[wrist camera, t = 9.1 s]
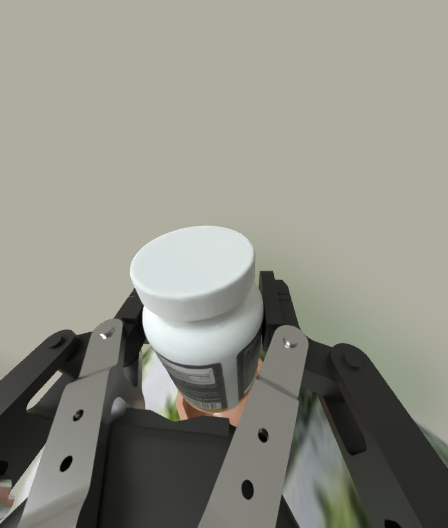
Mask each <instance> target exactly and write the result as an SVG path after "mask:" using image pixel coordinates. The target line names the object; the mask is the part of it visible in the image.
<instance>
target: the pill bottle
mask: <svg viewBox="0 0 448 528" xmlns="http://www.w3.org/2000/svg"><path fill="white" fill-rule="evenodd" d="M130 276H131V279H132V282H133V284H134V287H135V289H136V291H137V293H138V295H139V297H140V299H141V301H142V303H143V305H144V308H143V328H144V332H145V335H146V337H147V340H148V342H149V343H150V345H151V347H152V348H153V350H154V351H155V352H156V354H157V356H158V358H159V359H160V361H161V362H162V364H163V366H164V367H165V368H166V370H167V372H168V373H169V375H170V377H171V379H172V380H173V382H174V384H175V385H176V387H177V389H178V390H179V392H180V394H181V395H182V396H183V397H184V399H185V400H186V401H187V402H188V403H189V404H190V405H191V406H193V407H194V408H196V409H198V410H200V411H203V412H206V413H222V412H226V411H229V410H231V409H233V408H235V407H236V406H238V405H239V404H240V403H241V402H243V401H244V399H245V398H246V397H247V396H248V394H249V393H250V391H251V389H252V386H253V384H254V381H255V379H256V374H257V368H258V360H259V353H260V345H261V335H262V326H263V318H264V303H263V299H262V295H261V292H260V290H259V288H258V286H257V285H256V283H255V282H254V279H255V252H254V248H253V245H252V244H251V242H250V241H249V240H248V239H247V238H246V237H245V236H244V235H242V234H241V233H239V232H236V231H234V230H232V229H228V228H223V227H219V226H196V227H188V228H183V229H179V230H176V231H172V232H169V233H167V234H164V235H162V236H160V237H158V238H156V239H154V240H152V241H151V242H149V243H148V244H146V245H145V246H144V247H143V248H142V249H141V250H139V252H138V253H137V254H136V255H135V257H134V259H133V260H132V263H131V266H130Z"/></svg>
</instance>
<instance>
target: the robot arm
mask: <svg viewBox="0 0 448 528" xmlns="http://www.w3.org/2000/svg"><path fill="white" fill-rule="evenodd" d="M259 290H260V292H261V295H262V299H263V303H264V318H263V326H262V344H263V351H267V354H266V356H265V359H264V362H263V364H262V367H261V370H260V372H259V375H258V376H257V377H256V379H255V381H254V384H253V386H252V389H251V391H250V394H249V397H248V399H247V402H246V405H245V407H244V410H243V412H242V415H241V418H240V420H239V423H238V426H237V427H235V426H233V425H231V424H230V419H229V418H225V417H215V416H205V415H202V416H198V417H194V418H190V419H185V420H181V421H177V422H173V421H171V420H169V419H167V418H165V417H163V416H161V415H159V414H157V413H155V412H153V411H151V410H145V400H144V396H143V393H142V350H141V348H142V346H143V344H150V343H149V342H148V340H147V337H146V335H145V332H144V328H143V308H144V305H143V303H142V301H141V299H140V297H139V295H138V293H137V291H136V289H135V288H134V290H133V292H132V293H131V294H130V295H129V297H128V298H127V300H126V301H125V303H124V304H123V306H122V307H121V308H120V310H119V311H118V313H117V314H116V316H115V317H114V318H113V319H109V320H107V321H104V322H103V323H101V324H100V325H99V326H97V327H96V328H95V329H94V331H93V332H88V333H84V334H81V335H76V334H75V333H74V332H73V331H72V330H62V331H59V332H57V333H55V334H53V335H51V336H50V337H48V338H47V339H46V340H45V341H44V342H43V343H42V344H40V345H39V346H38V347H37V348H36V349H35V350H34V351H33V352H31V353H30V354H29V355H28V356H27V357H26V358H25V359H24V360H23V361H21V362H20V363H19V364H18V365H17V366H16V367H15V368H14V369H13V370H12V371H10V372H9V374H7V375H6V376H5V377H4V378H3V379H2V380H0V520H1V519H2V518H3V517H4V516H5V515H6V514H7V513H8V512H9V510H10V509H11V506H12V505H13V502H14V495H13V494H10V491H11V489H12V488H13V487H14V486H15V484H16V483H17V481H18V480H19V479H20V477H21V476H22V475H23V473H24V472H25V471H26V469H27V468H28V467H29V465H30V464H31V463H32V461H33V460H34V459H35V457H36V456H37V454H38V453H39V452H40V450H41V449H42V448H43V446H44V445H45V444H46V446H45V448H44V451H43V454H42V457H41V460H40V463H39V466H38V469H37V472H36V475H35V478H34V481H33V484H32V487H31V490H30V493H29V496H28V498H26V499H25V500H24V501H23V502H22V503H21V504H20V505H19V506H18V507H17V508H16V509H15V510H14V511H13V512H12V513H11V514H10V515H9V516H8V517H7V518H6V519H5V520H4V521H3V522H2V523H1V524H0V528H300V527H299V525H298V523H297V522H296V520H295V518H294V516H293V514H292V512H291V510H290V508H289V506H288V504H287V503H286V501H285V499H284V497H283V495H282V490H283V484H284V479H285V474H286V469H287V464H288V459H289V453H290V448H291V443H292V438H293V433H294V427H295V422H296V417H297V412H298V405H299V399H298V396H299V390H300V386H301V387H304V388H306V389H308V390H311V391H313V392H315V393H317V395H318V397H319V400H320V402H321V405H322V407H323V410H324V412H325V414H326V417H327V419H328V422H329V424H330V426H331V429H332V431H333V434H334V436H335V438H336V441H337V443H338V446H339V448H340V451H341V453H342V455H343V458H344V460H345V463H346V465H347V467H348V470H349V472H350V475H351V477H352V480H353V482H354V484H355V487H356V489H357V492H358V494H359V496H360V499H361V501H362V504H363V506H364V509H365V511H366V513H367V516H368V518H369V521H370V523H371V525H372V528H448V468H447V467H446V466H445V464H444V463H443V461H442V460H441V459H440V457H439V456H438V454H437V453H436V452H435V450H434V449H433V447H432V446H431V445H430V443H429V442H428V440H427V439H426V437H425V436H424V435H423V433H422V432H421V430H420V429H419V428H418V426H417V425H416V423H415V422H414V421H413V419H412V418H411V416H410V415H409V414H408V412H407V411H406V409H405V408H404V407H403V405H402V404H401V402H400V401H399V400H398V399H397V397H396V395H395V394H394V393H393V391H392V390H391V389H390V387H389V386H388V385H387V383H386V381H385V380H384V378H383V377H382V376H381V374H380V373H379V371H378V370H377V369H376V368H375V366H374V364H373V363H372V362H371V360H370V359H369V358H368V357H367V355H366V354H364V352H362V351H361V350H360V349H358V348H356V347H355V346H352V345H350V344H345V343H340V344H337V345H335V346H334V347H330V346H327V345H324V344H321V343H318V342H315V341H313V340H311V339H310V338H308V337H307V336H306V335H305V334H304V333H303V332H302V331H301V329H300V327H299V325H298V321H297V318H296V314H295V311H294V307H293V303H292V301H291V296H290V293H289V289H288V286H287V285H286V284H285V283H284V282H283V280H275V278H274V274H273V271H260V275H259ZM57 370H58V371H60V372H61V373H63V374H62V376H61V377H60V378H59V379H58V380H57V381H56V382H55V384H54V385H53V386H52V387H51V388H50V389H49V390H48V392H47V393H46V394H45V395H44V396H43V397H42V398H41V399H40V401H39V402H38V403H37V404H36V405H35V406H34V407H32V408H31V409H28V410H26V408H27V405H28V403H29V401H30V400H31V399H32V398H33V396H34V395H35V394H36V393H37V392H38V391H39V390H40V389H41V388H42V387H43V386H44V384H45V383H46V382H47V381H48V380H49V379H50V378H51V376H53V375H54V374H55V372H56V371H57Z"/></svg>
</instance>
